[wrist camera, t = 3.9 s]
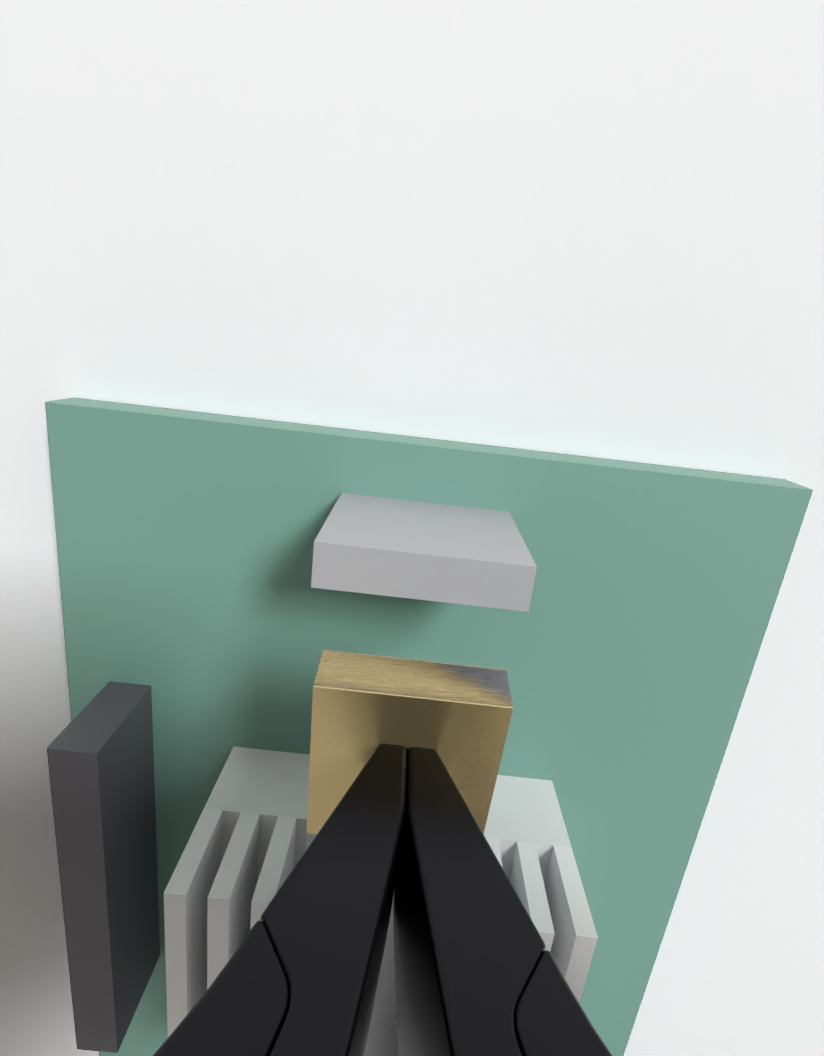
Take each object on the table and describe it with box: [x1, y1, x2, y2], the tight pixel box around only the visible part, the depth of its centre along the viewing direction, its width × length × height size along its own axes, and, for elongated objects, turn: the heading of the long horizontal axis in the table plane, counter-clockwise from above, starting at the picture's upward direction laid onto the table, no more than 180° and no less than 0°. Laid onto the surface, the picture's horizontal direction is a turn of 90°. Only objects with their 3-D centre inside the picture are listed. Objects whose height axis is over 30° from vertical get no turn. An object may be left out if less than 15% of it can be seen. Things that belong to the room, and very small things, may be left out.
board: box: [45, 398, 813, 1056], centre depth 14 cm, size 22×16×5 cm
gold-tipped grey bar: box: [306, 650, 513, 1056], centre depth 12 cm, size 17×3×1 cm, turn 174°
